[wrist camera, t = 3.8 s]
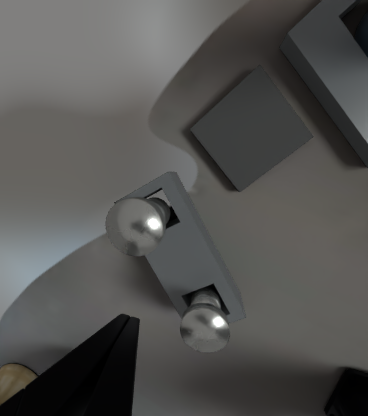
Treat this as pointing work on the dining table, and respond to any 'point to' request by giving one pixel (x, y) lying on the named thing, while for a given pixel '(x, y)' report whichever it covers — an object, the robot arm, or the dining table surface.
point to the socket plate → (333, 68)
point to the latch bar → (188, 252)
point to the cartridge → (363, 34)
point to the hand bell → (14, 380)
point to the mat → (251, 130)
